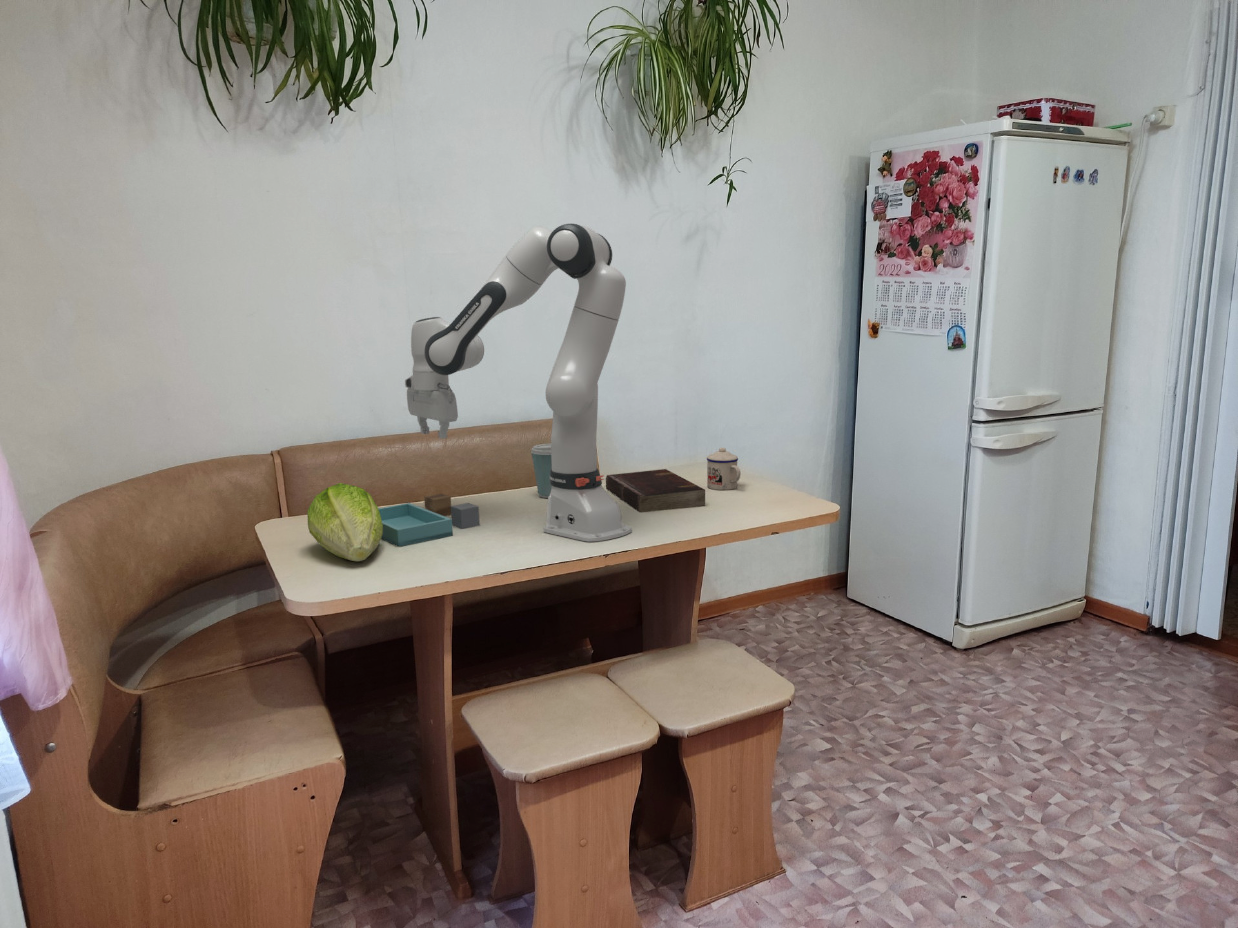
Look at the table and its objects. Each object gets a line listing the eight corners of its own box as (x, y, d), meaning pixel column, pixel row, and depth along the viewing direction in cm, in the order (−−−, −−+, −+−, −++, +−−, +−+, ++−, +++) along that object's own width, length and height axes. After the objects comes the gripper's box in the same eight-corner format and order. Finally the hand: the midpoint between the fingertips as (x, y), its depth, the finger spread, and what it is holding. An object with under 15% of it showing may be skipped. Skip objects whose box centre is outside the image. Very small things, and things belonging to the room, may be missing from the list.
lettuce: (398, 579, 191) (324, 598, 186) (377, 518, 210) (309, 534, 205) (389, 526, 183) (312, 544, 178) (368, 467, 202) (297, 482, 197)
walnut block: (451, 515, 227) (450, 496, 226) (434, 518, 224) (433, 499, 223) (442, 511, 231) (441, 493, 230) (425, 514, 228) (424, 496, 227)
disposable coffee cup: (525, 498, 244) (523, 446, 241) (542, 490, 253) (541, 439, 250) (559, 501, 240) (558, 448, 237) (575, 493, 250) (574, 441, 247)
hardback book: (605, 490, 254) (605, 473, 253) (665, 485, 260) (665, 468, 259) (639, 514, 227) (638, 495, 226) (705, 507, 233) (705, 489, 232)
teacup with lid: (700, 486, 256) (700, 447, 253) (723, 482, 261) (724, 444, 258) (727, 494, 246) (727, 453, 244) (751, 489, 251) (751, 450, 249)
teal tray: (452, 535, 208) (451, 519, 207) (398, 546, 199) (397, 530, 198) (410, 517, 225) (409, 502, 224) (358, 527, 216) (357, 512, 215)
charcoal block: (479, 525, 217) (478, 506, 216) (462, 529, 213) (460, 509, 212) (469, 521, 220) (468, 502, 219) (451, 525, 217) (450, 506, 216)
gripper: (462, 384, 215) (465, 439, 217) (423, 378, 230) (426, 430, 233) (439, 386, 211) (442, 442, 214) (401, 380, 226) (404, 432, 229)
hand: (433, 435), depth 223 cm, fingers open, 8 cm apart
